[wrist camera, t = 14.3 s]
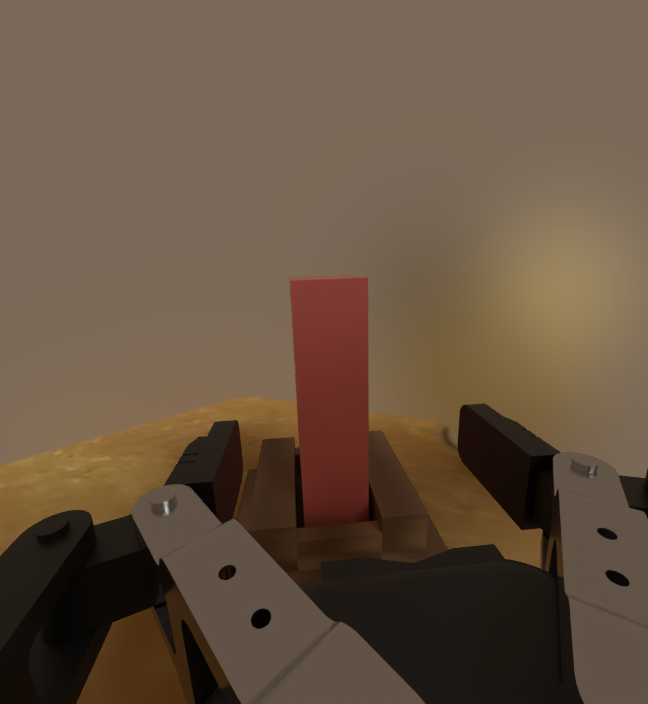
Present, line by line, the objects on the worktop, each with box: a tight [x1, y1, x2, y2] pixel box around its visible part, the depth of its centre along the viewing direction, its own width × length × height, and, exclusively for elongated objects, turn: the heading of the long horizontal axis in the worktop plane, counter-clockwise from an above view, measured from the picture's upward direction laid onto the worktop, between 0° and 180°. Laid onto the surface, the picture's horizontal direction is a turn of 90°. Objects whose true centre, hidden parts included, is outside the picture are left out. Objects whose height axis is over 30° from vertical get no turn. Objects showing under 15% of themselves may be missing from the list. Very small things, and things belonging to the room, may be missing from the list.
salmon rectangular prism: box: [289, 275, 369, 527], centre depth 22 cm, size 4×6×16 cm, turn 6°
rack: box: [237, 431, 448, 588], centre depth 24 cm, size 13×11×4 cm
